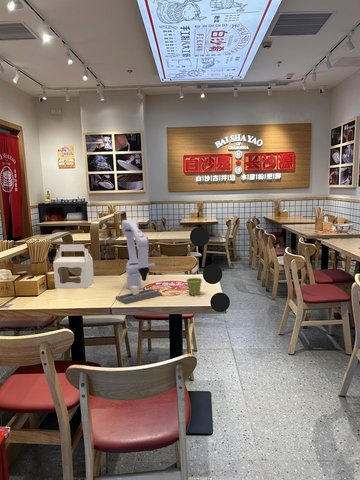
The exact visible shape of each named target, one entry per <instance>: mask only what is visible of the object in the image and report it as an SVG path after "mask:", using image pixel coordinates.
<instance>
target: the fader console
mask: <svg viewBox="0 0 360 480" xmlns="http://www.w3.org/2000/svg"><path fill="white" fill-rule="evenodd" d="M161 296H163V293H162V292H160V291H158V290H155V289H153V288H148V289H143V290H139V294H138V295H134V296H133V295H132V293H131V292H130V293H127V294H121V295H118V296H115V300H116V301H119V302H120V303H123V304H124V305H128V304H133V303H137V302H142V301H145V300H148V299H153V298H156V297H161Z"/></svg>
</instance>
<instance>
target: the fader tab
mask: <svg viewBox="0 0 360 480" xmlns="http://www.w3.org/2000/svg"><path fill="white" fill-rule="evenodd" d="M129 290H130V293H132V295H133V296H134V295H138V294H139V291H140V289H139V287H138V286H135V285H134V286H130V289H129Z"/></svg>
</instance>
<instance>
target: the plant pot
mask: <svg viewBox="0 0 360 480" xmlns="http://www.w3.org/2000/svg"><path fill="white" fill-rule="evenodd" d="M185 281H186V283H187V286H188V294H189V295H190V296H198V295H200V294H201V286H202V281H203V279H202V278H200V277H191V278H187V279H186V280H185Z"/></svg>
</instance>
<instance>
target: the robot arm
mask: <svg viewBox="0 0 360 480" xmlns="http://www.w3.org/2000/svg"><path fill="white" fill-rule="evenodd" d="M121 231H122V234H123V235H125V238H126V244H127V252H128V257H129V260H128V261H127V262H126V264H125V270H126V274H127V277H126V286H125V287H126V288H127V289H128V290H130V286H134V285H135V286H138V287H139V290H141V289H144V288H145V287H143V286H142V282H143V281H144V282H145V281H147V276H148V274H149V272H150V268H153V267H156V264H155V263H154V262H151V263H149V251H148V250H149V249H148V247H149V245H150V240H149V237H148V236H145V234H144V233H143V232H142V230H141V229H139V221H138V219H122V220H121ZM141 281H142V282H141Z"/></svg>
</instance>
